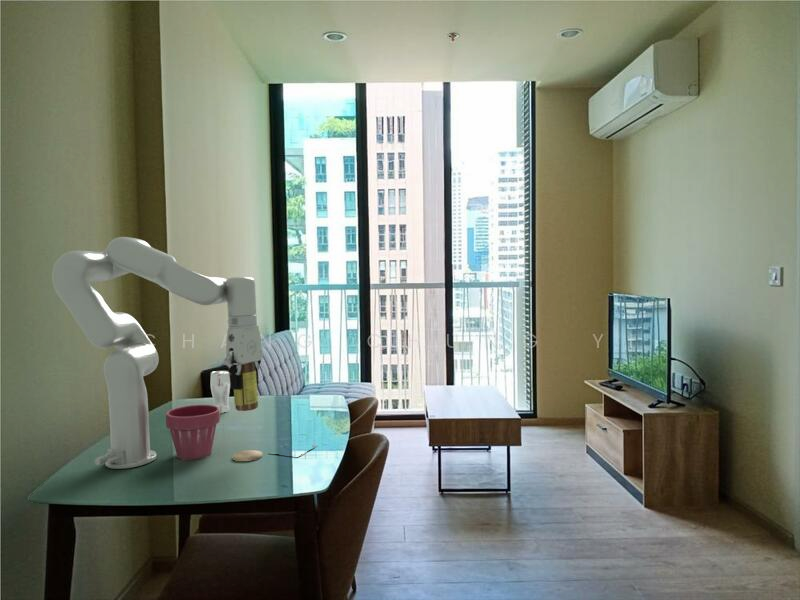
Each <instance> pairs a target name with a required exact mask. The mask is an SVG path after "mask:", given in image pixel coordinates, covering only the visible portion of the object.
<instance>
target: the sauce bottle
mask: <svg viewBox="0 0 800 600" xmlns="http://www.w3.org/2000/svg"><path fill="white" fill-rule="evenodd" d="M234 363H237V362H236V361H235V362H234ZM235 368H237V366H235ZM239 375H242V389H241V390H237V389H233V401H234V405H235V410H236V411H241V412H247V411H253V410H256V409H258V408H259V403H258V402H259V396H258V386H257V385H258V384H257V380H256V368H255V362H250V363H248V364H244V365H242V366H241V371H240V374H239Z"/></svg>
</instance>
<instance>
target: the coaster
mask: <svg viewBox="0 0 800 600" xmlns="http://www.w3.org/2000/svg"><path fill="white" fill-rule="evenodd" d="M261 456H262V457H263V452H262V451H260V450H255V449H253V450H252V449H251V450H250V449H249V450H242V451H239V452H236V453H234V454H233V455H232V456H231V458H233V459H232V461H233V460H236V461H250V462H253V461H252V460H255V459H258V458H260V457H261ZM262 457H261V458H262ZM261 458H260V459H261ZM258 460H259V459H258ZM236 461H235V462H236ZM255 461H256V460H255Z"/></svg>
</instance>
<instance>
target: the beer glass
mask: <svg viewBox="0 0 800 600" xmlns="http://www.w3.org/2000/svg"><path fill="white" fill-rule="evenodd" d="M230 389H231V375H229V372H228V371H227V370H216V371H215V370H214V371H211V372H210V390H211V391H210V392H211V395H212V402H213V406H216V407H218V408H219V412H220V413H222V414H224V413H223V412H227V411H229V412H230V411H231V408H230V404H229V399H230V393H231V392H230ZM227 413H228V412H227Z"/></svg>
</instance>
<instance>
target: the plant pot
mask: <svg viewBox="0 0 800 600" xmlns="http://www.w3.org/2000/svg"><path fill="white" fill-rule="evenodd" d="M220 416H221V414H220V412H219V408H218V407H216V406H214V404H213V405H212V404H191V405H185V406H180V407H174V408H171V409H169V410H168V411H167V412H166V413H165V426H166V428H167V429H169V432H170V435H171V438H172V439H171V440H172V442H173V446H174V451H175V454H176V457H177V458H178V459H179V460H184V461H194V460H199V459H198V458H200V459H202V457H203V458H206V457H208V456H210V455H211V454H212V452H213V451H212V449H213V444H214V440H215V435H216V428H217V425H218V424H219V423H220V421H221V419H220V418H221V417H220ZM210 453H211V454H210ZM209 454H210V455H209ZM207 455H208V456H207ZM205 456H206V457H205ZM193 459H194V460H193Z"/></svg>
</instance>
